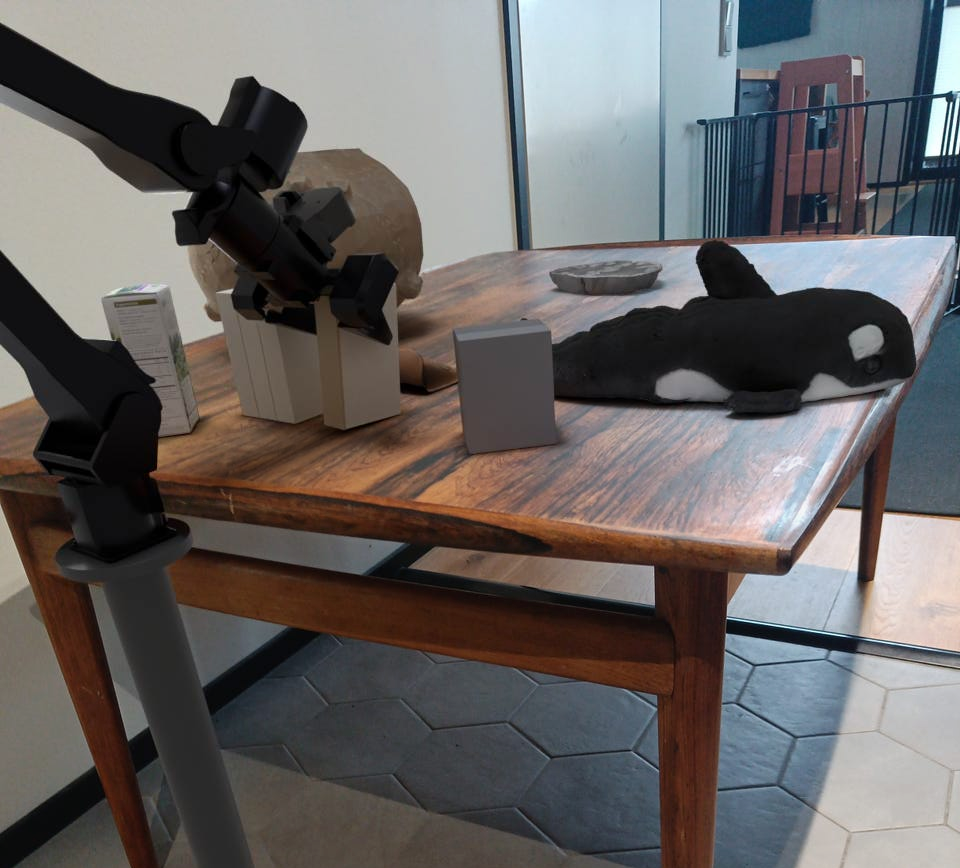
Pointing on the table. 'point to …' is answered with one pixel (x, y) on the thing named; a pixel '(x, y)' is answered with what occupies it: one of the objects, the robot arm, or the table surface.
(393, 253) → the ceramic pot
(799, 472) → the table surface
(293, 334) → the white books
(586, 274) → the grey stone slab
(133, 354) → the syrup box
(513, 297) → the table surface
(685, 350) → the orca plush
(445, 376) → the sunglasses case
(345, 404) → the book
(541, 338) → the grey box
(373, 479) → the table surface
